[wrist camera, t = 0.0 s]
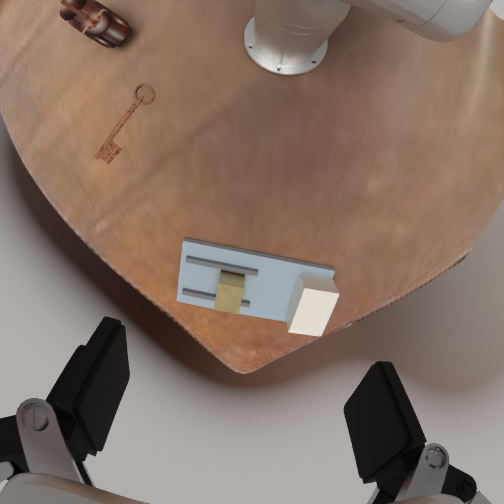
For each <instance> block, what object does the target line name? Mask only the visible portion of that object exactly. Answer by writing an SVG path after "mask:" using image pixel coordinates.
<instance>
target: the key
mask: <svg viewBox="0 0 504 504" xmlns="http://www.w3.org/2000/svg"><path fill="white" fill-rule="evenodd" d="M142 86H147V87H149V88H150V89H151V91H152V93H153V97H152V99H151V100H150V101H149V102H147V103H143V102H141V101H142V99H143V96H142V97H140V98H137V95H136V93H137V90H138V89H139V88H140V87H142ZM134 96H135V98H136V100H137V101H136V102H135V103H134V104H133V105H132V107H131V108H130V109H129V111H127V112H126V114H125V115H124V116H123V118H122V119H121V120H120V122H119V123H118V124H117V126H116V127H115V128H114V130H113V131H112V132H111V134H110V135H109V137H108V138H107V139H106V141H105V142H104V144H103V145H102V147H101V148H100V150H99V151H98V153H97V154H96V156H95V158H96V159H99V157H101V158H102V159H103V160H104V161H105V162H106V161H107V159H108V158H109V156H110V155H111V154H112V155H113V156H114V157H116V156H115V155H114V154H113V153H112V152H113V151H114V149H115V148H116V147H117V145H116V144H115V143H114V142H113V141H112V139H113V137H114V136H115V135H116V133H117V132H118V131H119V129H120V128H121V127H122V125H123V124H124V123H125V122H126V120H127V119H128V118H129V116H131V113H132V112H134V110H135V108H137V106H138V105H139V104H140V103H141V104H145V105H147V104H150V103H152V102H153V101H154V99H155V92H154V90H153V88H152V87H150V86H149V85H146V84H141V85H139V86H137V87H136V89H135V91H134ZM111 143H112V144H113V145H112V144H111ZM110 144H111V145H110ZM109 145H110V147H109V149H110V150H111V151H112V152H111V151H110V150H109V149H108V146H109ZM106 149H107V150H108V151H109V152H110V153H111V154H109V153H108V152H107V151H106V152H105V150H106ZM121 150H122V149H121V148H120V147H117V148H116V150H115V151H114V153H115V154H116V155H117V154H118V153H119V151H121ZM104 152H105V154H104V155H105V156H106V157H104V156H103V153H104ZM113 156H111V157H110V158H109V160H108V161H107V164H109V163H110V162H111V161H112V160H113V159H114V157H113Z"/></svg>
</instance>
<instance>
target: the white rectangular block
mask: <svg viewBox="0 0 504 504" xmlns="http://www.w3.org/2000/svg"><path fill="white" fill-rule="evenodd" d="M338 297H339V292H338V290H337V287H336V285H335V283H334V281H333V279H331V278H326V277H321V276H316V275H310V274H305V273H300V274H299V277H298V280H297V283H296V286H295V289H294V292H293V295H292V298H291V301H290V304H289V307H288V310H287V313H286V320H287V326H288V332H291V333H298V334H306V335H313V336H321V335H322V333H323V331H324V329H325V327H326V324H327V322H328V320H329V318H330V315H331V313H332V311H333V308H334V306H335V304H336V301H337V299H338Z"/></svg>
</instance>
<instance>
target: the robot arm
mask: <svg viewBox="0 0 504 504" xmlns="http://www.w3.org/2000/svg"><path fill="white" fill-rule="evenodd" d="M492 1H493V0H255V7H254V16H253V17H252V18H251V19H250V20H249V22H248V23H247V25H246V28H245V31H244V45H245V49H246V51H247V53H248V55H249V56H250V58H251V59H252V60H253V61H254V62H255V63H256V64H257V65H258V66H260V67H261V68H263V69H264V70H266V71H269V72H271V73H274V74H278V75H284V76H295V75H300V74H304V73H306V72H309V71H311V70H312V69H314V68H315V67H316V66H317V65H319V64H320V62H321V61H322V60H323V59H324V57H325V55H326V52H327V48H328V39H327V38H328V37H329V36H330V35H331V34H332V33H333V32H334V30H335V29H336V28H337V27H338V26H339V25H340V24H341V22H342V21H343V20H344V19H345V18H346V16H347V14H348V13H349V10H350V6H351V5H353V6H356V7H357V6H358V7H360V8H363V9H365V10H368V11H370V12H373V13H375V14H377V15H379V16H382V17H384V18H386V19H388V20H390V21H393V22H395V23H397V24H399V25H401V26H403V27H405V28H407V29H409V30H411V31H413V32H415V33H417V34H419V35H421V36H423V37H425V38H427V39H430V40H433V41H436V42H452V41H455V40H458V39H460V38H462V37H463V36H465V35H466V34H467V33H468V32H470V31H471V30H472V28H473V27H474V26H475V25H476V24H477V23H478V21H479V20H480V19H481V17H482V16H483V15H484V13H485V12H486V10H487V8H488V7H489V5H490V4H491V2H492ZM249 47H252V49H250V48H249ZM312 61H314V62H315V63H314V64H313V63H312ZM277 69H280V71H277ZM129 377H130V371H129V362H128V354H127V342H126V330H125V326H124V325H121V321H120V320H117V319H114V318H110V317H107V316H105V317H104V318H103V320H102V321H101V323H100V324H99V326H98V327H97V329H96V330H95V332H94V333H93V335H92V336H91V338H90V340H89V341H88V343H87V344H86V346H84V345H80V346H78V348H77V349H76V350H75V352H74V354H73V355H72V357H71V358H70V360H69V361H68V363H67V365H66V367H65V368H64V370H63V371H62V373H61V375H60V376H59V378H58V380H57V381H56V383H55V385H54V386H53V388H52V390H51V392H50V394H49V395H48V397H47V399H46V400H45V401H44V400H42V399H38V398H31V399H28V400H25V401H24V402H22V403H21V404H20V406H19V407H18V409H17V413H16V415H13V416H9V417H5V418H0V482H2V481H3V480H5V479H7V480H9V481H8V482H7V483H6V485H5V486H4V488H3V490H2V491H1V493H0V504H149V503H145V502H141V501H137V500H133V499H130V498H126V497H123V496H120V495H116V494H114V493H110V492H108V491H105V490H101V489H98V488H96V487H95V485H94V483H93V481H92V479H91V477H90V475H89V473H88V470H87V468H86V466H85V464H84V462H83V461H85V459H86V457H87V454H91V455H93V456H96V454H97V451H102V450H103V447H104V445H105V442H106V439H107V436H108V433H109V431H110V428H111V425H112V422H113V420H114V417H115V414H116V412H117V409H118V406H119V404H120V401H121V399H122V396H123V394H124V391H125V389H126V386H127V384H128V381H129ZM344 415H345V419H346V423H347V427H348V431H349V435H350V438H351V442H352V447H353V451H354V455H355V460H356V464H357V468H358V473H359V476H360V478H362V479H363V483H364V484H366V483H372V482H375V481H376V483H377V487H376V489H375V491H374V492H373V494H372V496H371V498H370V500H369V501H368V503H367V504H491V502H490V501H488V500H487V498H486V497H484V495H483V494H481V492H480V491H478V492H476V490H477V487H476V482H475V480H474V479H473V477H471V476H470V475H468V474H466V473H464V472H463V471H461V470H459V469H457V468H455V467H453V466H452V465H450V464H449V455H448V453H447V451H446V449H445V448H444V447H442V446H441V445H439V444H437V443H431V444H428V445H427V446H426V447H425V444H424V443H425V442H427V441H426V438H425V436H424V433H423V431H422V428H421V426H420V424H419V421H418V419H417V416H416V414H415V412H414V409H413V407H412V405H411V403H410V400H409V398H408V396H407V394H406V391H405V389H404V387H403V385H402V383H401V381H400V378H399V376H398V375H397V372H396V370H395V368H394V366H393V364H392V363H391V362H382V361H378V362H376V363H375V364H374V365H372V366H371V367H370V369H369V370H368V372H367V373H366V375H365V376H364V378H363V379H362V381H361V382H360V384H359V385H358V387H357V388H356V390H355V391H354V393H353V394H352V396H351V397H350V398H349V399H348V401H347V402H346V404H345V406H344Z"/></svg>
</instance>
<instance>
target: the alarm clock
mask: <svg viewBox="0 0 504 504" xmlns="http://www.w3.org/2000/svg"><path fill="white" fill-rule="evenodd" d="M60 2H61V4H63V5H62V6H61V8H60V16H61V17H62V18H63V19H64V20H66V21H67V20H68V23H69V24H70V25H71V26H73V27H74V28H75V29H77V30H78V31H80V32H81V33H83V34H84V35H86V36H87V37H89V38H91V39H92V40H94V41H96V42H97V43H99V44H101V45H103V46H105V47H108V48H114V47H115V46H117V45H118V46H119V47H121V46H122V45H121V44H119V43H120V42H121V41H122V40H123V39H124V38H125V37H126V35H127V34H128V33H129V32H130V33H132V31H130V30H131V29H132V28H130V27H129V25H128V22H127V21H125V20H124V19H122V18H121V17H120V16H118V15H117V14H115V13H114V12H112V11H111V10H109V9H108V8H106V7H105V6H103V5H102V4H100V3H99V2H97V1H95V0H61V1H60Z"/></svg>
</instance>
